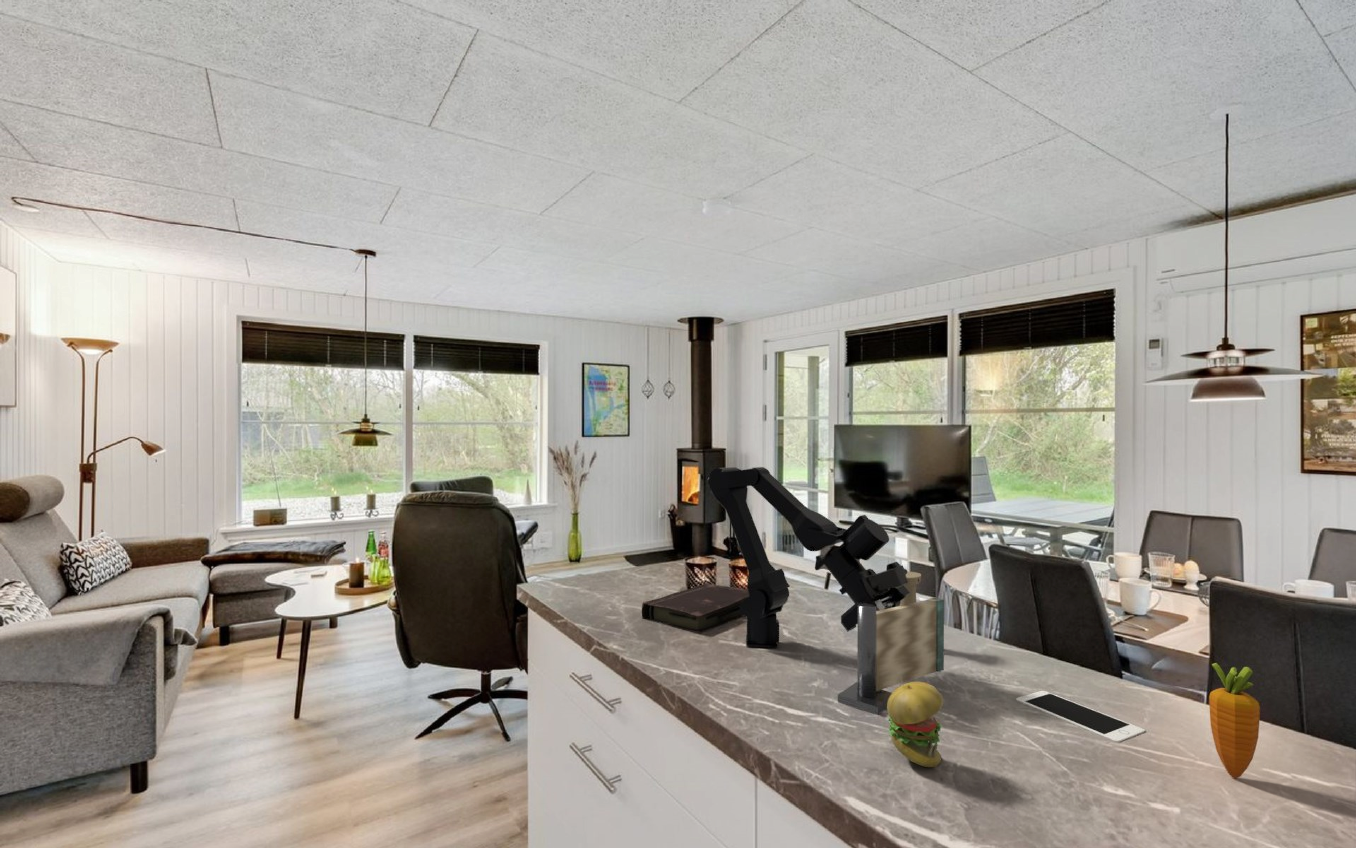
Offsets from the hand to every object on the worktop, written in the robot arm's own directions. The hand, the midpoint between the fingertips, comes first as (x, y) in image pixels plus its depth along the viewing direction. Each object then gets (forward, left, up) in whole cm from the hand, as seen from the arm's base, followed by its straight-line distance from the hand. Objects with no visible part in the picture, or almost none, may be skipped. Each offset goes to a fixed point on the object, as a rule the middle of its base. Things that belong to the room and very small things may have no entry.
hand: (907, 646), depth 111 cm
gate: (0, -2, -5) cm, 5 cm away
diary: (-40, +37, -7) cm, 55 cm away
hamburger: (-6, -27, -7) cm, 28 cm away
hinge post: (-9, -8, -7) cm, 14 cm away
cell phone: (+24, -9, -7) cm, 27 cm away
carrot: (+35, -26, -7) cm, 44 cm away
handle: (+5, +21, -7) cm, 23 cm away
